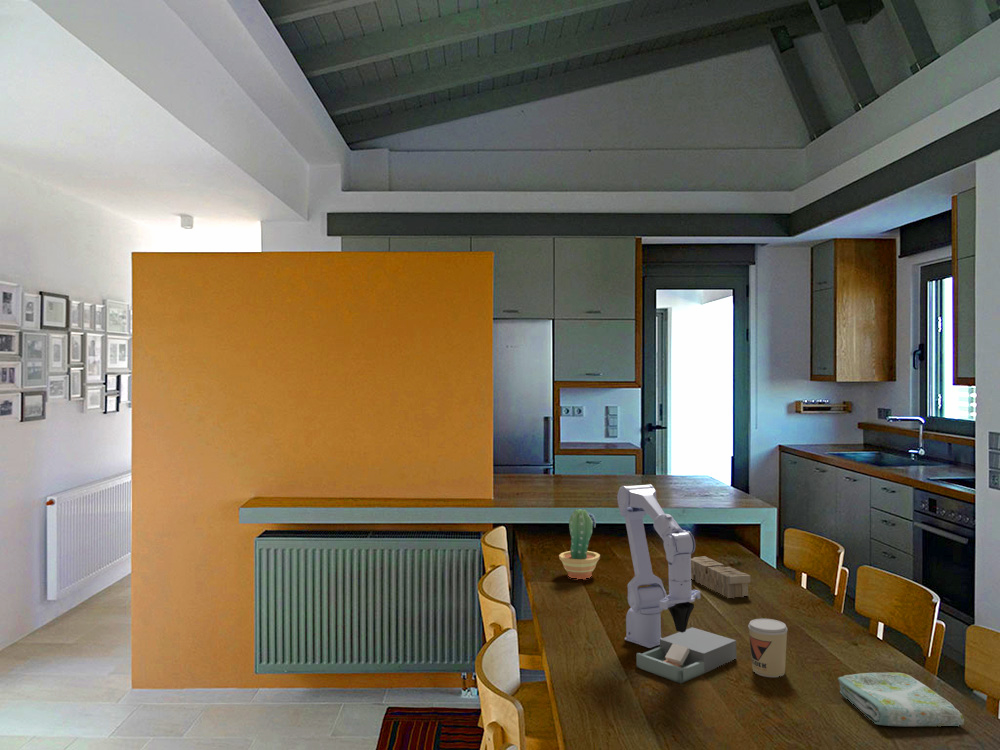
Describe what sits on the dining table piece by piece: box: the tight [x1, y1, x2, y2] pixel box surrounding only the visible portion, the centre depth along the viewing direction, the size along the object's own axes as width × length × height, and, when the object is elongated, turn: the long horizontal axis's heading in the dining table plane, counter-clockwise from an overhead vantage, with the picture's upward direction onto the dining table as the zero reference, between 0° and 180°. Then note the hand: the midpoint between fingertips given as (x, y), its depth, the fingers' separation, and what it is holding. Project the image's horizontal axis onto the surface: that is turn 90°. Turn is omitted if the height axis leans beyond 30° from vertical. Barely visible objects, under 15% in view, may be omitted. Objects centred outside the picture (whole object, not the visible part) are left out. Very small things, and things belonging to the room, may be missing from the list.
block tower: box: [691, 555, 751, 599], centre depth 267 cm, size 8×8×29 cm
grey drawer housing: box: [659, 626, 737, 674], centre depth 202 cm, size 14×14×5 cm
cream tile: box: [665, 644, 690, 665], centre depth 195 cm, size 4×4×2 cm
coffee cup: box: [747, 618, 788, 678], centre depth 192 cm, size 9×9×12 cm
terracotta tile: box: [664, 660, 681, 667], centre depth 193 cm, size 4×4×2 cm
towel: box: [837, 672, 965, 727], centre depth 170 cm, size 18×21×5 cm
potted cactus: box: [558, 508, 601, 580], centre depth 285 cm, size 15×15×25 cm
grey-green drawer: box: [635, 646, 705, 684], centre depth 194 cm, size 14×10×4 cm
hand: (680, 631), depth 197 cm, fingers closed
